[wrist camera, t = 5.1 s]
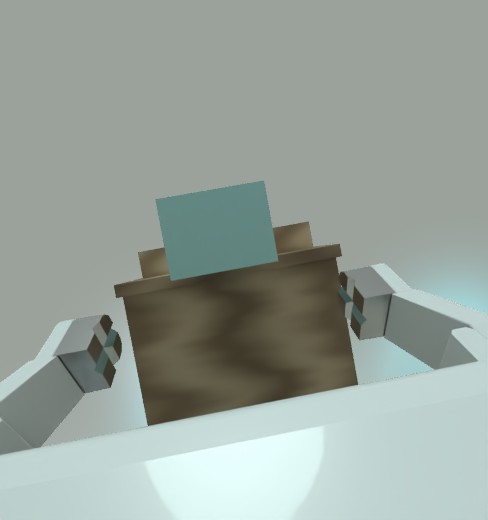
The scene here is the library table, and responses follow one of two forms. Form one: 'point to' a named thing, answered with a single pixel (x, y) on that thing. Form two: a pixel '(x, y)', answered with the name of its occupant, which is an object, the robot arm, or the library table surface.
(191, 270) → the batten
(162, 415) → the brown tall textured block
